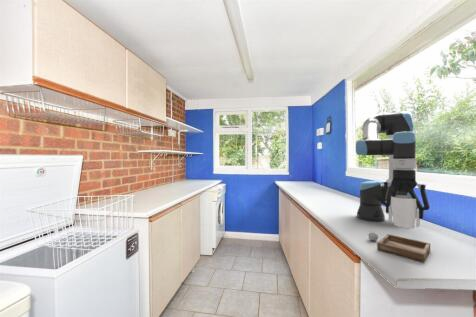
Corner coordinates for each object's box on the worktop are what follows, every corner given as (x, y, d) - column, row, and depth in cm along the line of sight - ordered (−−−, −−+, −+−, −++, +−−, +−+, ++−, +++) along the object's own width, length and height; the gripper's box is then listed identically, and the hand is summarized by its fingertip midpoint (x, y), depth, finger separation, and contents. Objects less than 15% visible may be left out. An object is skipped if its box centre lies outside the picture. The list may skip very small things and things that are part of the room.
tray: (387, 240, 101) (387, 234, 101) (430, 250, 90) (430, 243, 90) (377, 249, 91) (377, 242, 91) (424, 262, 80) (424, 254, 80)
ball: (369, 238, 104) (369, 229, 104) (379, 240, 101) (379, 232, 101) (366, 240, 101) (366, 231, 101) (376, 242, 98) (376, 234, 98)
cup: (423, 230, 85) (423, 199, 85) (397, 228, 87) (397, 198, 87) (409, 223, 94) (409, 195, 94) (386, 222, 96) (386, 194, 96)
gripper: (371, 168, 96) (371, 220, 96) (437, 170, 80) (437, 232, 80) (377, 168, 101) (377, 216, 101) (439, 169, 85) (439, 227, 85)
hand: (403, 223), depth 91 cm, fingers closed on cup, 9 cm apart
